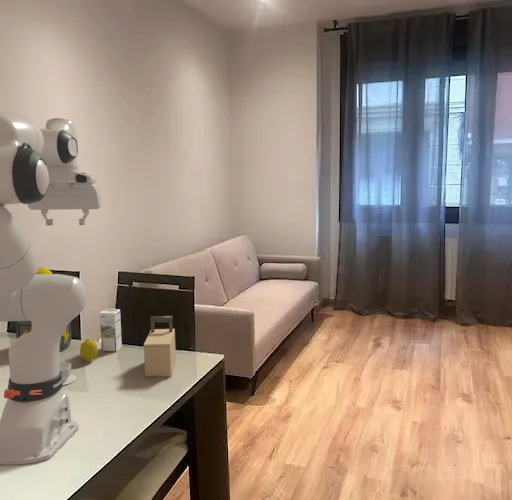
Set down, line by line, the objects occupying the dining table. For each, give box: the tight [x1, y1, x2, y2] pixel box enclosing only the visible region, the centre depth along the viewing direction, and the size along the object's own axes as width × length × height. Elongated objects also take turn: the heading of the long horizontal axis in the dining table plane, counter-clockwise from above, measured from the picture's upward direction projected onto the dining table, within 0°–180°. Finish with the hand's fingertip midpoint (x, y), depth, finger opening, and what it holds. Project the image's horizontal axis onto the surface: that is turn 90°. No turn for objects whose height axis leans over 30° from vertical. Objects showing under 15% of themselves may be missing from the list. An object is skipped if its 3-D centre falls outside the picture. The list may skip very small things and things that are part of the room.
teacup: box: [59, 362, 77, 386], centre depth 157 cm, size 10×10×5 cm
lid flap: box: [143, 315, 176, 347], centre depth 165 cm, size 16×8×6 cm, turn 4°
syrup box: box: [99, 308, 123, 353], centre depth 185 cm, size 6×6×14 cm
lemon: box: [79, 338, 98, 362], centre depth 173 cm, size 6×6×8 cm
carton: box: [143, 331, 176, 379], centre depth 166 cm, size 16×8×10 cm, turn 4°
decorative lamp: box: [15, 266, 72, 353], centre depth 186 cm, size 19×19×30 cm
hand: (66, 225), depth 150 cm, fingers open, 8 cm apart
